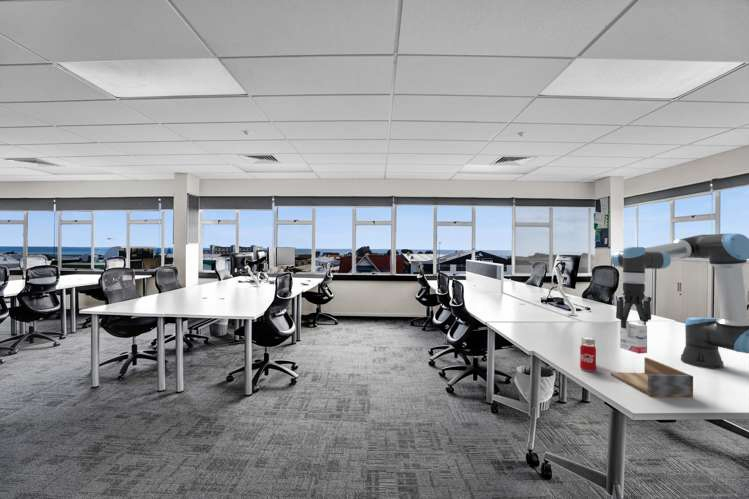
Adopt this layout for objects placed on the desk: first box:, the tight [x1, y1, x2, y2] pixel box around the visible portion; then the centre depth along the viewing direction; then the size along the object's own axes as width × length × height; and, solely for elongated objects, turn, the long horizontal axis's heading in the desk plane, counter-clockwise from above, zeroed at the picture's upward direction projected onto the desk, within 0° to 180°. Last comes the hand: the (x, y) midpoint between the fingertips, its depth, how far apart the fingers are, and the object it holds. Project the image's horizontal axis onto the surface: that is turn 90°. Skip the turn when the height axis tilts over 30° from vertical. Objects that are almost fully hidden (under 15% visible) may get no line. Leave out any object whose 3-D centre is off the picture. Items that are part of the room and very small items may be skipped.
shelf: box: [610, 357, 694, 399], centre depth 137 cm, size 16×22×8 cm
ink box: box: [619, 321, 648, 354], centre depth 142 cm, size 8×5×12 cm, turn 12°
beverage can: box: [579, 342, 597, 373], centre depth 154 cm, size 6×6×12 cm
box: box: [581, 336, 596, 346], centre depth 162 cm, size 5×4×13 cm
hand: (633, 335), depth 142 cm, fingers closed on ink box, 6 cm apart
